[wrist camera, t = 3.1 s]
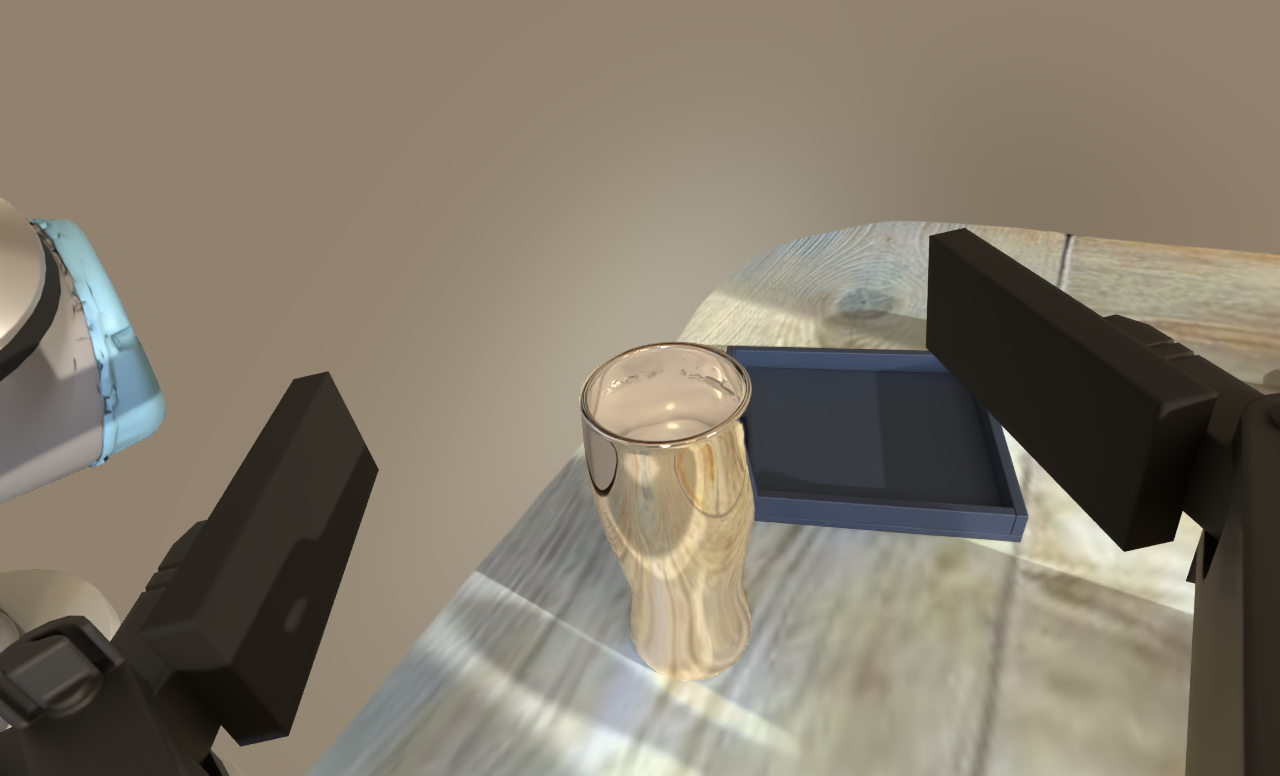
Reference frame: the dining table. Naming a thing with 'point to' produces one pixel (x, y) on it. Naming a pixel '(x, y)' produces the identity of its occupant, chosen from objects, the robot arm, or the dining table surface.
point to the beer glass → (676, 497)
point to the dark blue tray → (877, 445)
